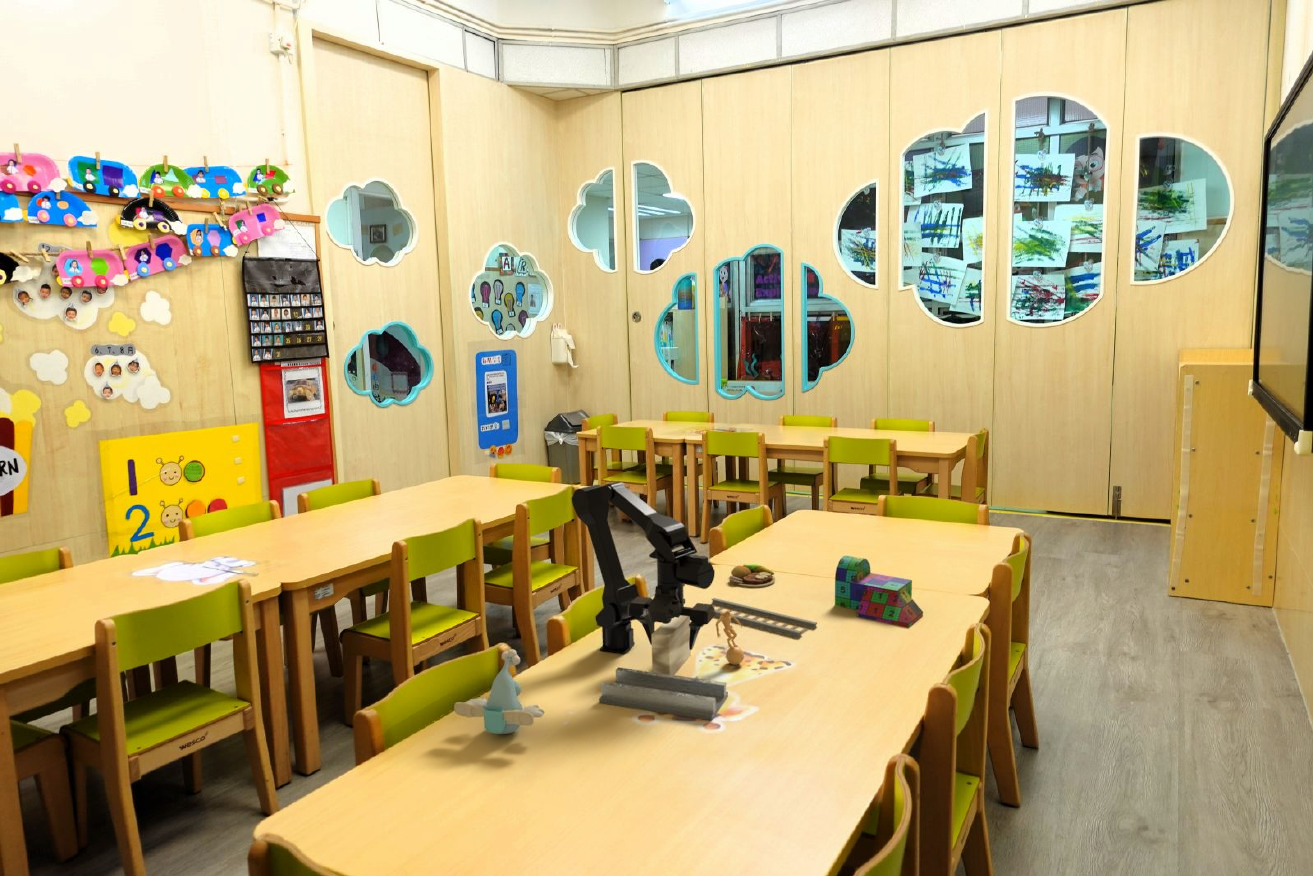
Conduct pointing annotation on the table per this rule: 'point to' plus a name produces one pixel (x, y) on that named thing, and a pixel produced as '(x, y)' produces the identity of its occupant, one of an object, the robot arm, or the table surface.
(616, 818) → the table surface
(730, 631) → the figurine
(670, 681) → the floor track
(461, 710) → the toy figure
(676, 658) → the door panel
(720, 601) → the model train track
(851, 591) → the toy train engine
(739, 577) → the toy food set
